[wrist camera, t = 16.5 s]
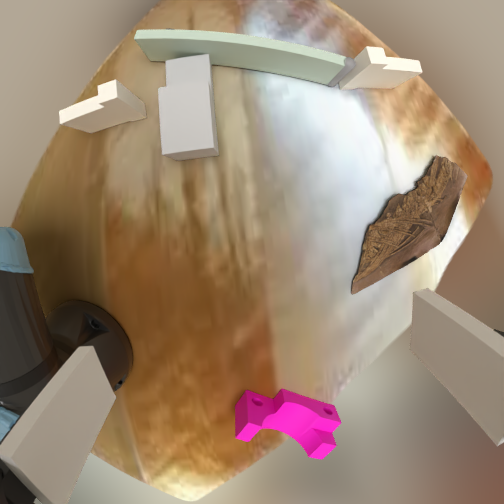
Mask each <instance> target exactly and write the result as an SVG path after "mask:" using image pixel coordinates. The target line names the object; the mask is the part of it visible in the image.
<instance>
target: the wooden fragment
mask: <svg viewBox="0 0 504 504" xmlns="http://www.w3.org/2000/svg"><path fill="white" fill-rule="evenodd" d="M466 179H467V174H466V173H464V172H463V171H462V170H461V169H460V168H459V167H458V165H457V164H456V163H453V162H452V163H451V161H449V160H448V158H446V157H443V158H441V157H439V156H437V155H436V156H435V159H434V160H433V164H432V165H431V166H430V167H429V170H428V172H427V174H426V175H425V177H422V179H421V180H419V181H418V182H417V188H416V189H414V190H412V191H411V192H409V193H408V194H407V195H402V194H398V195H396V196H394V197H393V198H392V199H391V200H390V201H389V203H388V206H387V207H386V209H385V210H384V212H383V214H382V216H381V217H380V218H379V219H378V220H377V222H376V223H375V224H372V225H370V226H369V229H368V231H367V233H366V235H365V240H364V243H363V249H362V250H363V253H362V257H361V263H360V267H359V270H358V274H357V275H356V276H355V278H354V280H353V284H352V291H351V294H355V293H357V292H359V291H361V290H362V289H364V288H366V287H368V286H370V285H372V284H374V283H375V282H377V281H379V280H381V279H383V278H384V277H386V276H388V275H390V274H391V273H393V272H395V271H397V270H399V269H401V268H403V267H404V266H406V265H408V264H409V263H411V262H413V261H415V260H416V259H418V258H419V257H421V256H422V255H424V254H425V253H427V252H428V251H429V250H430V249H432V248H434V247H436V246H437V245H439V244H440V242H442V240H443V239H444V237H445V235H446V233H447V230H448V227H449V225H450V223H451V220H452V217H453V214H454V212H455V209H456V206H457V204H458V201H459V198H460V195H461V192H462V190H463V186H464V184H465V181H466ZM439 238H440V239H439Z"/></svg>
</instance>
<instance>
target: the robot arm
mask: <svg viewBox="0 0 504 504" xmlns="http://www.w3.org/2000/svg"><path fill="white" fill-rule="evenodd" d="M32 273H34V271H33V268H32V267H31V266H30V263H29V259H28V255H27V251H26V247H25V243H24V240H23V237H22V235H21V234H20V233H19V232H18V231H17V230H16V229H14V228H11V227H0V504H34V503H33V502H34V500H35V498H37V499H38V500H39V501H40V502H41V503H42V504H67V503H68V500H69V498H70V496H71V493H72V491H73V488H74V486H75V484H76V482H77V479H78V477H79V475H80V473H81V471H82V468H83V466H84V464H85V462H86V460H87V457H88V455H89V453H90V451H91V449H92V447H93V444H94V442H95V440H96V438H97V436H98V434H99V432H100V430H101V428H102V426H103V424H104V422H105V419H106V417H107V415H108V413H109V411H110V409H111V407H112V405H113V403H114V401H115V399H116V396H115V394H114V392H115V391H116V390H118V389H119V388H120V387H121V386H122V385H123V384H124V383H125V381H126V379H127V377H128V375H129V373H130V371H131V369H132V364H133V355H132V349H131V346H130V343H129V340H128V338H127V336H126V334H125V333H124V331H123V330H122V328H121V327H120V326H119V324H118V323H117V322H116V321H115V320H114V319H113V318H112V317H111V316H110V315H109V314H108V313H106V312H105V311H104V310H102V309H101V308H99V307H97V306H95V305H93V304H90V303H88V302H84V301H67V302H64V303H62V304H60V305H59V306H57V307H56V308H55V309H54V310H52V311H51V312H50V313H49V314H48V316H47V317H46V319H45V317H44V314H43V311H42V307H41V304H40V301H39V297H38V293H37V290H36V286H35V282H34V278H33V274H32ZM410 350H411V351H412V352H413V353H414V354H415V355H416V356H417V358H418V359H419V360H420V361H421V362H422V363H423V364H424V365H425V366H426V367H427V368H428V369H429V370H430V371H431V372H432V374H434V376H436V378H437V379H438V380H439V381H440V382H441V383H442V384H443V385H444V386H445V387H446V389H447V390H448V391H449V392H450V393H451V394H452V395H453V396H454V397H455V399H456V400H457V401H458V402H459V403H460V404H461V405H462V406H463V407H464V409H465V410H466V411H467V412H468V413H469V414H470V415H471V416H472V418H473V419H474V420H475V421H476V422H477V423H478V424H479V426H480V427H481V428H482V429H483V430H484V431H485V432H486V433H487V435H488V436H489V437H490V438H491V439H492V441H493V442H494V443H495V444H496V445H497V446H499V445H500V444H501V443H503V442H504V332H501V331H498V330H495V329H494V330H492V329H491V328H489V327H488V326H486V325H485V324H483V323H482V322H480V321H479V320H477V319H476V318H474V317H473V316H471V315H470V314H468V313H467V312H465V311H463V310H462V309H460V308H459V307H457V306H456V305H454V304H452V303H451V302H449V301H448V300H446V299H444V298H443V297H441V296H440V295H438V294H436V293H435V292H433V291H432V290H430V289H428V288H427V289H423V290H420V291H416V292H413V310H412V328H411V341H410Z"/></svg>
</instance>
